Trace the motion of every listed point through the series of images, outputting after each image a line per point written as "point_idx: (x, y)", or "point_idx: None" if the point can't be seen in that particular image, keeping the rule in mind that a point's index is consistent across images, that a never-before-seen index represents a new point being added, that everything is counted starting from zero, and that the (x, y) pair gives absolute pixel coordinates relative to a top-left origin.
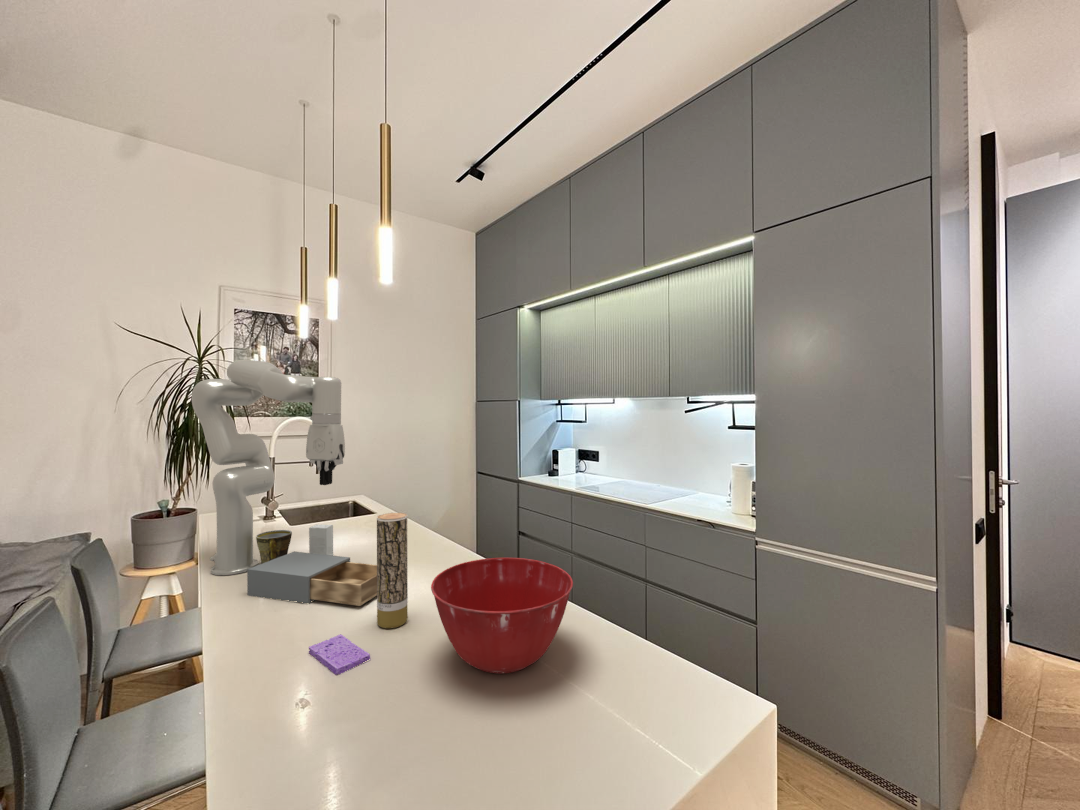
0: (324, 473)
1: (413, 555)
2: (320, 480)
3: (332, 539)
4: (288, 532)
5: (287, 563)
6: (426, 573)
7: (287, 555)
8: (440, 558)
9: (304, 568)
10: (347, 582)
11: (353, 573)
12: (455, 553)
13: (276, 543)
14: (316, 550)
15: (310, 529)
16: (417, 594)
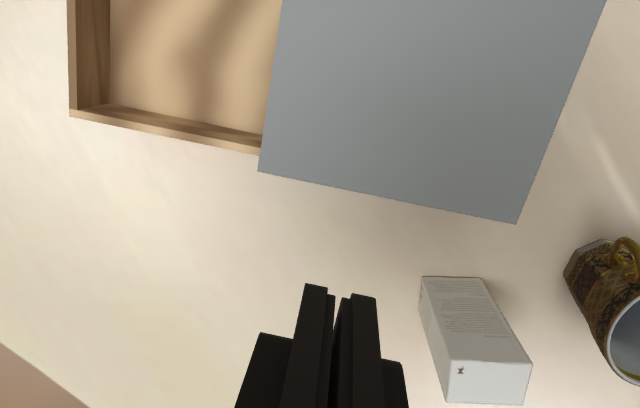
0: (282, 399)
1: (198, 362)
2: (361, 323)
3: (432, 354)
4: (628, 375)
5: (469, 81)
6: (82, 229)
7: (519, 176)
8: (108, 342)
9: (364, 26)
10: (249, 100)
11: (241, 134)
12: (88, 379)
13: (627, 281)
14: (469, 304)
15: (523, 358)
16: (14, 66)
